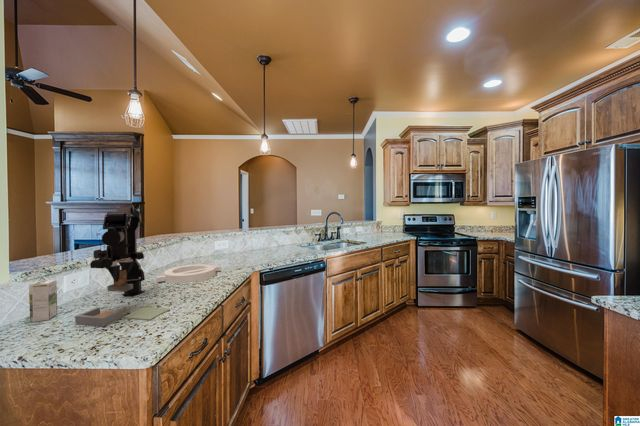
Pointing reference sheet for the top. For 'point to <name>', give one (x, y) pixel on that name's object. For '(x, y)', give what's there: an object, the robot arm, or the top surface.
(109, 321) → the bay
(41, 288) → the syrup box
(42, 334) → the top surface
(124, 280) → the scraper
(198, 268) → the white circle with bar
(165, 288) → the top surface
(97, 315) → the tile
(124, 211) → the robot arm
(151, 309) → the mat
